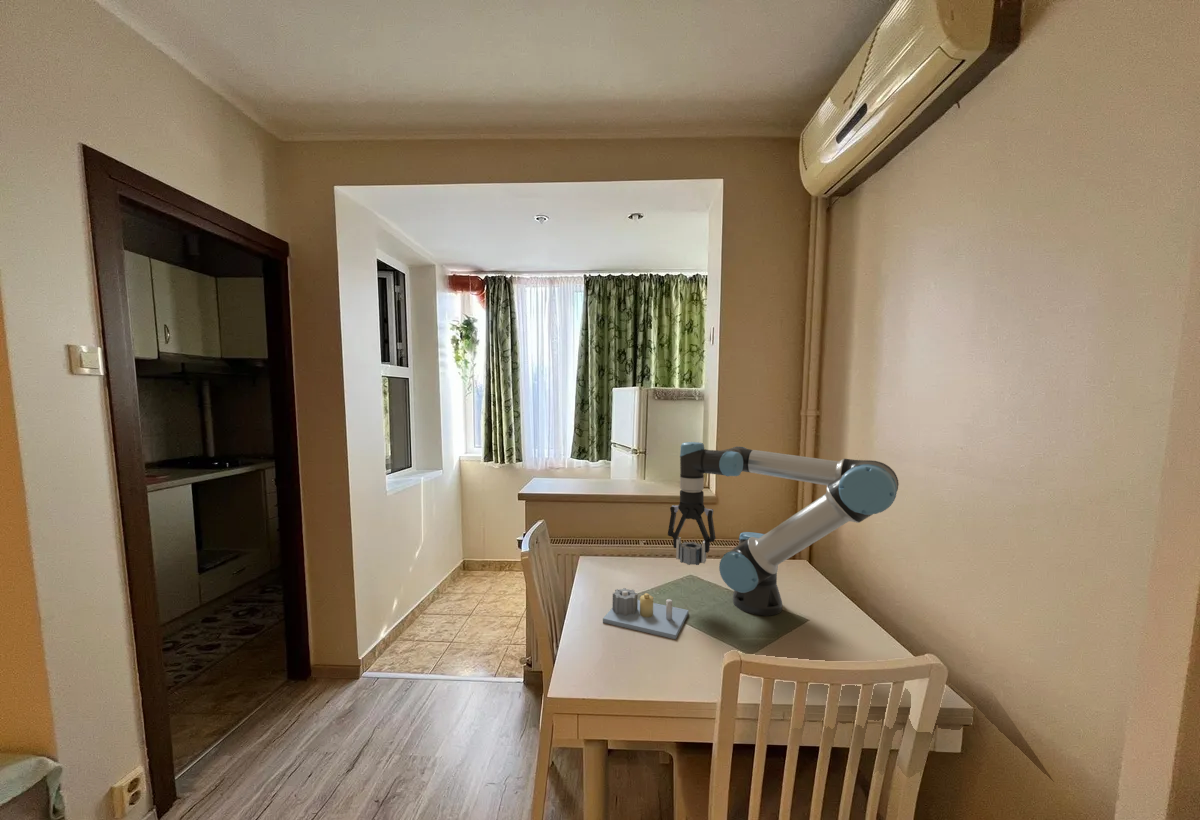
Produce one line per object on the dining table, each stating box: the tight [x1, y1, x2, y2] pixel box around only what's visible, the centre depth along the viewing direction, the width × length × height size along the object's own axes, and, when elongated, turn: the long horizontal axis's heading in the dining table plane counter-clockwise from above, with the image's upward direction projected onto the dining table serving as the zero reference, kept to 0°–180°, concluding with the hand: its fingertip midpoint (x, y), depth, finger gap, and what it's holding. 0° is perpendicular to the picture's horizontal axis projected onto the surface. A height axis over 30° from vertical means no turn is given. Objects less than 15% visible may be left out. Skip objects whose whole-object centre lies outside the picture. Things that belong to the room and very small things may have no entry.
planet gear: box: [678, 541, 703, 566], centre depth 142 cm, size 8×8×5 cm
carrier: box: [602, 587, 689, 640], centre depth 133 cm, size 22×16×7 cm
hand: (691, 559), depth 142 cm, fingers closed on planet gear, 8 cm apart
